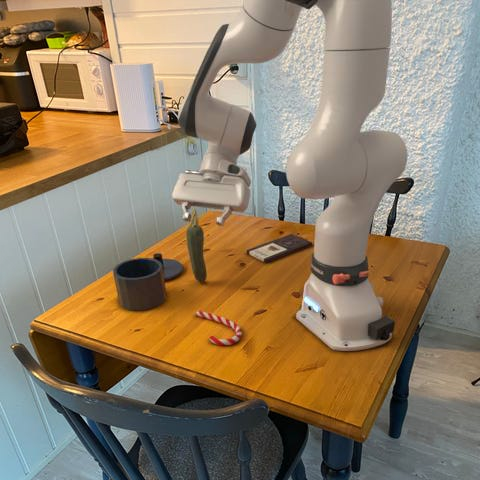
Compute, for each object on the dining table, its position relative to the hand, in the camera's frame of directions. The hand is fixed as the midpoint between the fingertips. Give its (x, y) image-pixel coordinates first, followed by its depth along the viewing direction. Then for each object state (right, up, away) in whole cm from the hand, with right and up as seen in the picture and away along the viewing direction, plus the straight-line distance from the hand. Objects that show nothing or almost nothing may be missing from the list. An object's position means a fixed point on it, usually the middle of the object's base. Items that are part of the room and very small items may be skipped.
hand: (202, 222), depth 117 cm
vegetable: (-1, -15, +5) cm, 16 cm away
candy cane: (+4, -27, -13) cm, 30 cm away
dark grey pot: (-15, -19, -1) cm, 24 cm away
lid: (-13, -11, +11) cm, 20 cm away
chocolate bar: (+21, -4, +21) cm, 30 cm away
